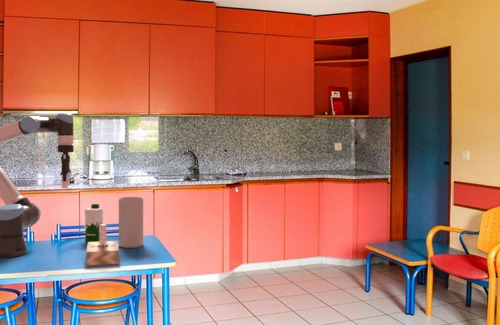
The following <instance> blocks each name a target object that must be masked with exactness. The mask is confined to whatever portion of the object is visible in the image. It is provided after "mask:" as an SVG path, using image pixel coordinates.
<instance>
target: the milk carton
mask: <svg viewBox="0 0 500 325" xmlns="http://www.w3.org/2000/svg"><path fill="white" fill-rule="evenodd" d="M84 219H85V220H84V230H85V232H84V234H85V235H84V236H85V237H84V239H85V240H84V241H85V243H88V242H99V225H100V224H104V207H100V203H99V204H98V203H92V204H91V206H90V207H88V208H85V209H84Z"/></svg>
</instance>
